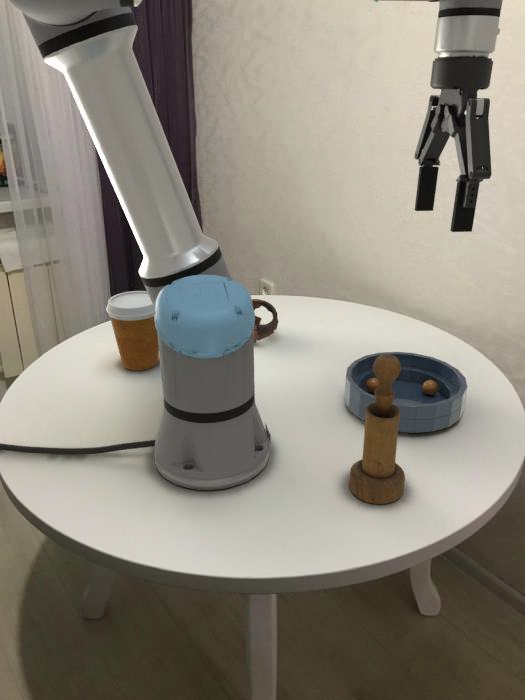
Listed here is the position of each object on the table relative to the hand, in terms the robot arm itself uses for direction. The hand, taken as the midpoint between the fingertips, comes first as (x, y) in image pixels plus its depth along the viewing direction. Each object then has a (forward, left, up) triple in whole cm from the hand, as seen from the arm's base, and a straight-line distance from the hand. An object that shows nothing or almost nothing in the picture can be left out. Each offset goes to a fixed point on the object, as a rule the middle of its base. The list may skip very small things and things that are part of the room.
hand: (441, 220), depth 85 cm
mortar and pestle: (-22, -19, -27) cm, 40 cm away
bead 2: (-2, -4, -25) cm, 25 cm away
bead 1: (-9, 0, -25) cm, 27 cm away
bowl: (-7, -4, -27) cm, 28 cm away
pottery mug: (-18, +31, -27) cm, 45 cm away
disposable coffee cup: (-40, +28, -27) cm, 56 cm away
